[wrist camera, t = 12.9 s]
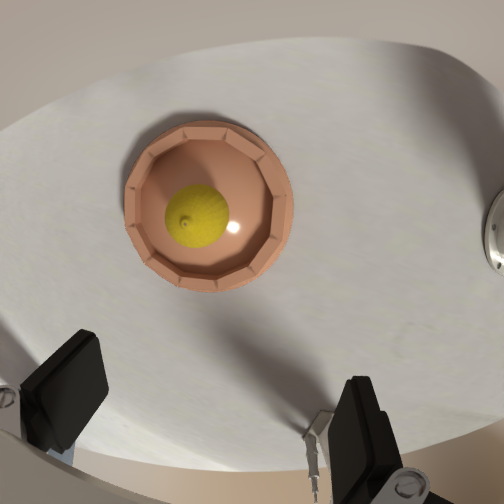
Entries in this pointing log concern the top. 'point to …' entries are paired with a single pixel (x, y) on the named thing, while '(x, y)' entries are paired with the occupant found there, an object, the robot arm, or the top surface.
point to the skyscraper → (313, 436)
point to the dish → (233, 190)
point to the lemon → (196, 216)
